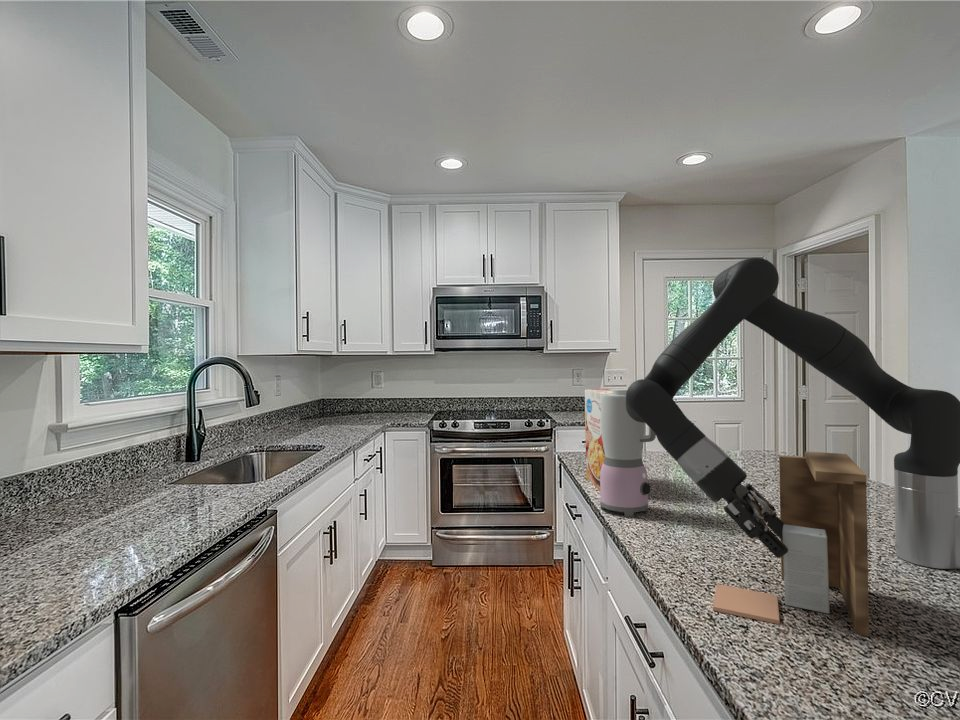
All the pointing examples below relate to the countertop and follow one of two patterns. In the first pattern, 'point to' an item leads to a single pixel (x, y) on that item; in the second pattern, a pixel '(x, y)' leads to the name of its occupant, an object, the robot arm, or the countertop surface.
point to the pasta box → (594, 435)
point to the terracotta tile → (746, 603)
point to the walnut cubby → (832, 520)
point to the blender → (623, 457)
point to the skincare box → (806, 568)
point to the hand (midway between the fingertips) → (786, 546)
